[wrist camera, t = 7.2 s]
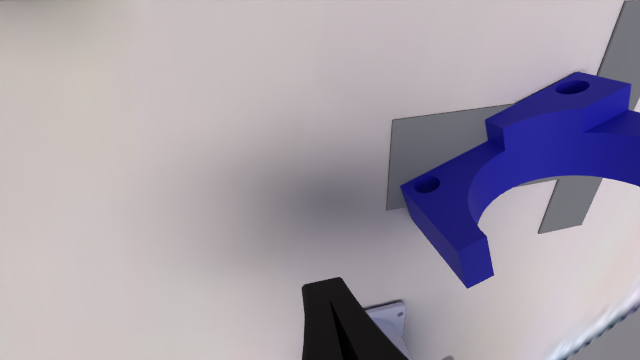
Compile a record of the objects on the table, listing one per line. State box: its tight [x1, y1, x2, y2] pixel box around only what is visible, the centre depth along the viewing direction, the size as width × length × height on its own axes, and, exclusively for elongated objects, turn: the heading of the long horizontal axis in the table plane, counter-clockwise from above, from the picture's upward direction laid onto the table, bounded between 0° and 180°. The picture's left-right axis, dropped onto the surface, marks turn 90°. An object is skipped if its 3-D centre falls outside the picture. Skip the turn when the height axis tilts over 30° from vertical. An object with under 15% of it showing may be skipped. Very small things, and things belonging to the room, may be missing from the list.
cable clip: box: [400, 72, 640, 289], centre depth 18 cm, size 12×4×6 cm, turn 115°
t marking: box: [386, 0, 640, 234], centre depth 21 cm, size 16×17×1 cm
